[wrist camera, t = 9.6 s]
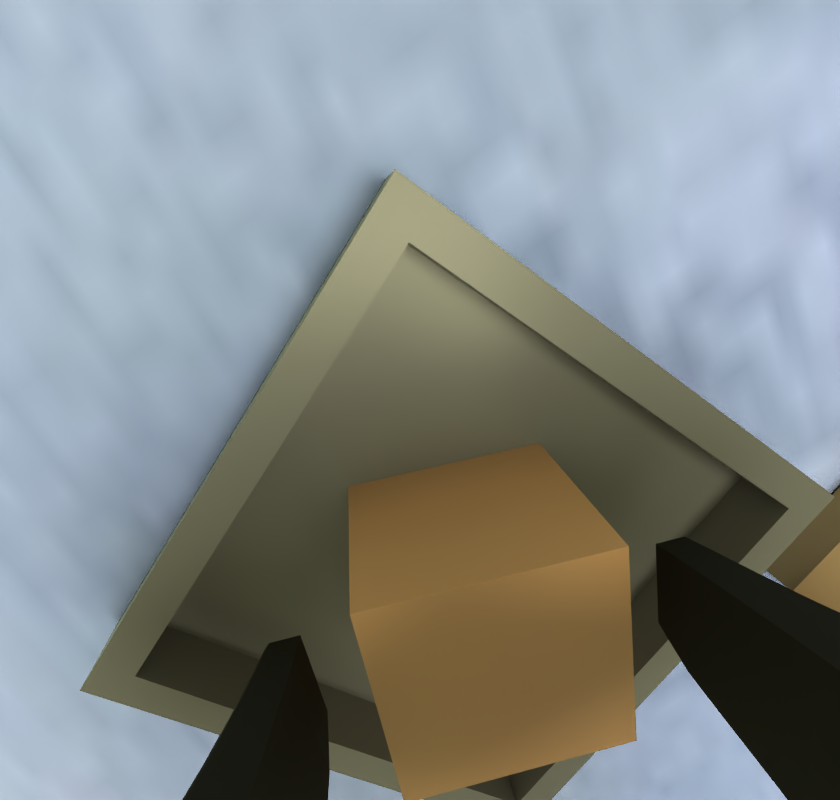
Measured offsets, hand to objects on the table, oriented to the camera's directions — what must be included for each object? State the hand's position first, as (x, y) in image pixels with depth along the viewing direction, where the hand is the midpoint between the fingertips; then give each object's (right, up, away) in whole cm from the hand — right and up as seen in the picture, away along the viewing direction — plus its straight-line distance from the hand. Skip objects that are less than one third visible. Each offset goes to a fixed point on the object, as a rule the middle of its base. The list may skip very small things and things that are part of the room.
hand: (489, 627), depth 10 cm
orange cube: (0, +1, +2) cm, 3 cm away
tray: (0, +1, +3) cm, 3 cm away
